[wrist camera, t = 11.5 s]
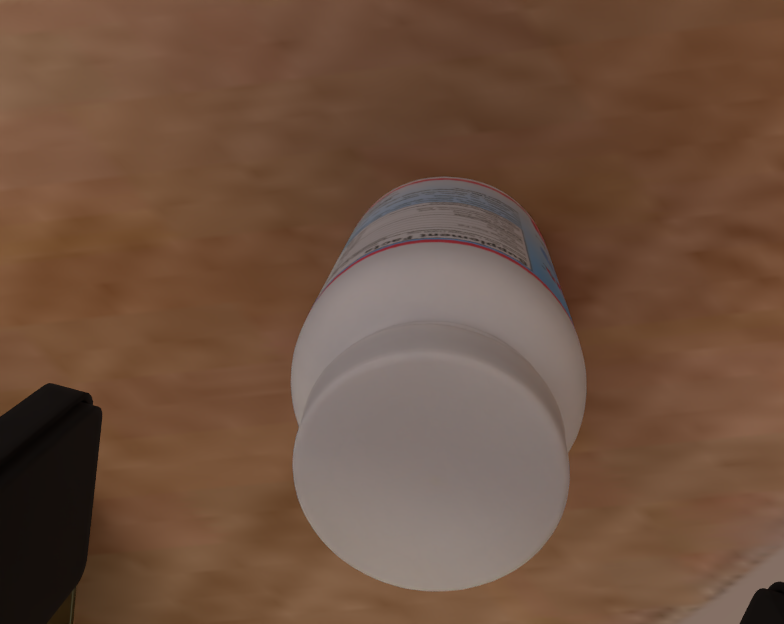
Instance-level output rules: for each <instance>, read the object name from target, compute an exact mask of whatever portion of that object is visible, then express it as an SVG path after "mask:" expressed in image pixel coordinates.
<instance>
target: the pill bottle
mask: <svg viewBox="0 0 784 624" xmlns="http://www.w3.org/2000/svg"><path fill="white" fill-rule="evenodd" d="M291 394H292V401H293V407H294V412H295V415H296V419H297V422H298V426H299V429H298V432H297V435H296V439H295V445H294V450H293V477H294V484H295V489H296V493H297V497H298V500H299V503H300V505H301V508H302V510H303V512H304V514H305V516H306V518H307V520H308V521H309V523H310V525H311V526H312V528H313V530H314V531H315V532H316V534H317V535H318V536H319V537H320V539H321V540H322V541H323V542H324V543H325V544H326V545H327V547H328V548H329V549H330V550H331V551H332V552H334V553H335V554H336V555H337V556H338V557H339V558H341V559H342V560H343V561H345V562H346V563H348V564H349V565H350V566H352V567H353V568H355V569H357V570H359V571H360V572H362V573H364V574H366V575H368V576H370V577H372V578H374V579H377V580H379V581H382V582H385V583H388V584H391V585H394V586H398V587H401V588H406V589H412V590H419V591H454V590H462V589H467V588H472V587H476V586H479V585H483V584H486V583H489V582H493V581H495V580H497V579H499V578H501V577H503V576H506V575H508V574H510V573H511V572H513V571H515V570H516V569H518V568H519V567H521V566H522V565H523V564H525V563H526V562H527V561H529V560H530V559H531V558H532V557H533V556H534V555H535V554H536V553H538V552H539V551H540V550H541V549H542V547H543V546H544V545H545V543H546V542H547V541H548V539H549V538H550V537H551V535H552V534H553V532H554V530H555V529H556V527H557V525H558V523H559V521H560V519H561V517H562V514H563V512H564V509H565V506H566V502H567V497H568V490H569V483H570V465H569V457H568V453H569V451H570V449H571V447H572V445H573V443H574V441H575V439H576V437H577V435H578V432H579V429H580V426H581V423H582V419H583V415H584V409H585V402H586V394H587V393H586V368H585V363H584V357H583V354H582V349H581V345H580V342H579V338H578V336H577V333H576V330H575V328H574V325H573V322H572V319H571V316H570V313H569V310H568V307H567V304H566V301H565V298H564V296H563V293H562V290H561V287H560V284H559V281H558V278H557V275H556V273H555V270H554V267H553V264H552V261H551V258H550V255H549V252H548V249H547V247H546V244H545V241H544V239H543V237H542V235H541V233H540V231H539V229H538V227H537V225H536V224H535V222H534V220H533V219H532V218H531V216H530V215H529V214H528V212H527V211H526V210H525V209H524V208H523V207H522V206H521V205H520V204H519V203H518V202H517V201H515V200H514V199H513V198H512V197H510V196H509V195H507V194H506V193H504V192H503V191H501V190H499V189H497V188H495V187H493V186H490V185H488V184H485V183H482V182H479V181H475V180H471V179H466V178H458V177H431V178H424V179H419V180H415V181H412V182H409V183H406V184H404V185H402V186H399V187H397V188H395V189H393V190H392V191H390V192H388V193H387V194H385V195H384V196H383V197H381V198H380V199H379V200H378V201H376V202H375V203H374V204H373V205H372V206H371V207H370V208H369V209H368V211H367V212H366V213H365V214H364V215H363V217H362V218H361V220H360V221H359V222H358V224H357V225H356V227H355V229H354V231H353V233H352V234H351V236H350V238H349V240H348V242H347V244H346V246H345V247H344V249H343V251H342V253H341V255H340V256H339V258H338V260H337V262H336V263H335V265H334V267H333V269H332V271H331V273H330V275H329V277H328V279H327V281H326V283H325V284H324V286H323V288H322V290H321V292H320V294H319V296H318V297H317V299H316V301H315V303H314V305H313V306H312V308H311V310H310V312H309V314H308V316H307V318H306V320H305V323H304V325H303V327H302V329H301V332H300V334H299V337H298V340H297V343H296V346H295V350H294V355H293V361H292V368H291Z"/></svg>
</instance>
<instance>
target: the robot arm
mask: <svg viewBox="0 0 784 624" xmlns="http://www.w3.org/2000/svg"><path fill="white" fill-rule="evenodd" d="M101 424H102V410H101V408H100V407H98V406H94V405H93V400H92V396H91V395H90V394H89V393H86V392H82V391H78V390H75V389H71V388H67V387H64V386H60V385H56V384H51V383H48V384H46V385H44V386H43V387H41V388H40V389H38V390H37V391H36V392H34V393H33V394H31V395H30V396H29V397H27V398H26V399H25V400H23V401H22V402H20V403H19V404H18V405H16V406H15V407H13V408H12V409H11V410H9V411H8V412H6V413H5V414H4V415H2V416H1V417H0V624H47V622H48V621H49V620H50V619H51V617H52V616H53V615H54V614H55V612H56V611H57V610H58V609H59V607H60V606H61V605H62V604H63V602H64V601H65V600H66V598H67V597H68V596H69V595H70V593H71V592H72V591H73V590H74V588H75V587H76V585H77V584H78V582H79V580H80V579H81V577H82V574H83V572H84V569H85V566H86V561H87V554H88V545H89V536H90V526H91V517H92V508H93V498H94V489H95V480H96V470H97V461H98V452H99V442H100V433H101ZM740 624H784V582H776V583H774V584H772V585H771V586H770V587H769V588H768V589H764V588H762V589H759V590H758V591H757V592H756V593H755V594H754V596H753V598H752V600H751V602H750V604H749V606H748V608H747V610H746V612H745V614H744V616H743V618H742V620H741V622H740Z"/></svg>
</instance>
